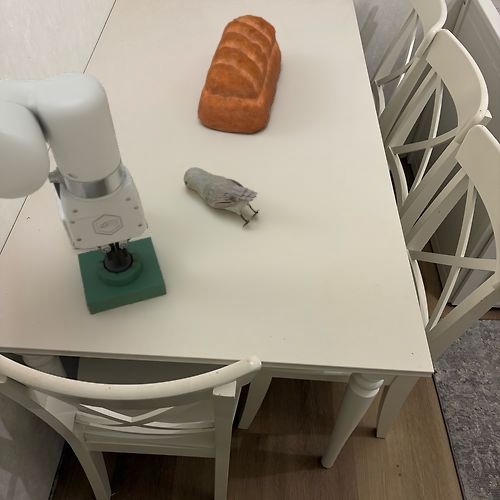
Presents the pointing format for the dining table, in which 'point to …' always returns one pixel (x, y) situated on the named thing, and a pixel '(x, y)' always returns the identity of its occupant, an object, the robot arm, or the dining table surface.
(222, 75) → the bread
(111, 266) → the dark grey push button
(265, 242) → the dining table surface
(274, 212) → the dining table surface
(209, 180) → the decorative bird
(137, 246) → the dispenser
